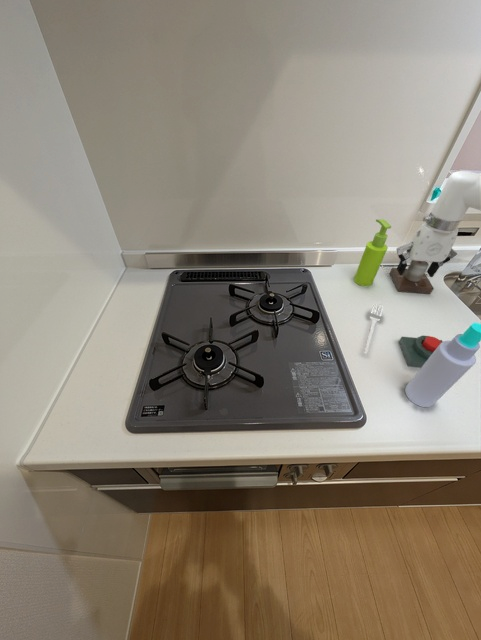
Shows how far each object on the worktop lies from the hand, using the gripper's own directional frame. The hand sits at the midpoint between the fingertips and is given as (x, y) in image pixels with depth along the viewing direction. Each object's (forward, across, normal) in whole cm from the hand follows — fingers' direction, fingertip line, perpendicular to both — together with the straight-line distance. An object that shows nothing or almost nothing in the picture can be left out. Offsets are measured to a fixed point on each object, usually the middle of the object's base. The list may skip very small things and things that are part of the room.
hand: (414, 273), depth 89 cm
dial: (+2, 0, 0) cm, 2 cm away
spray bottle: (+4, -11, -43) cm, 45 cm away
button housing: (+4, -6, -31) cm, 32 cm away
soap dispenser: (+4, -15, 0) cm, 16 cm away
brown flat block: (+4, 0, 0) cm, 4 cm away
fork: (+5, -17, -23) cm, 29 cm away
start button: (0, -6, -31) cm, 32 cm away
